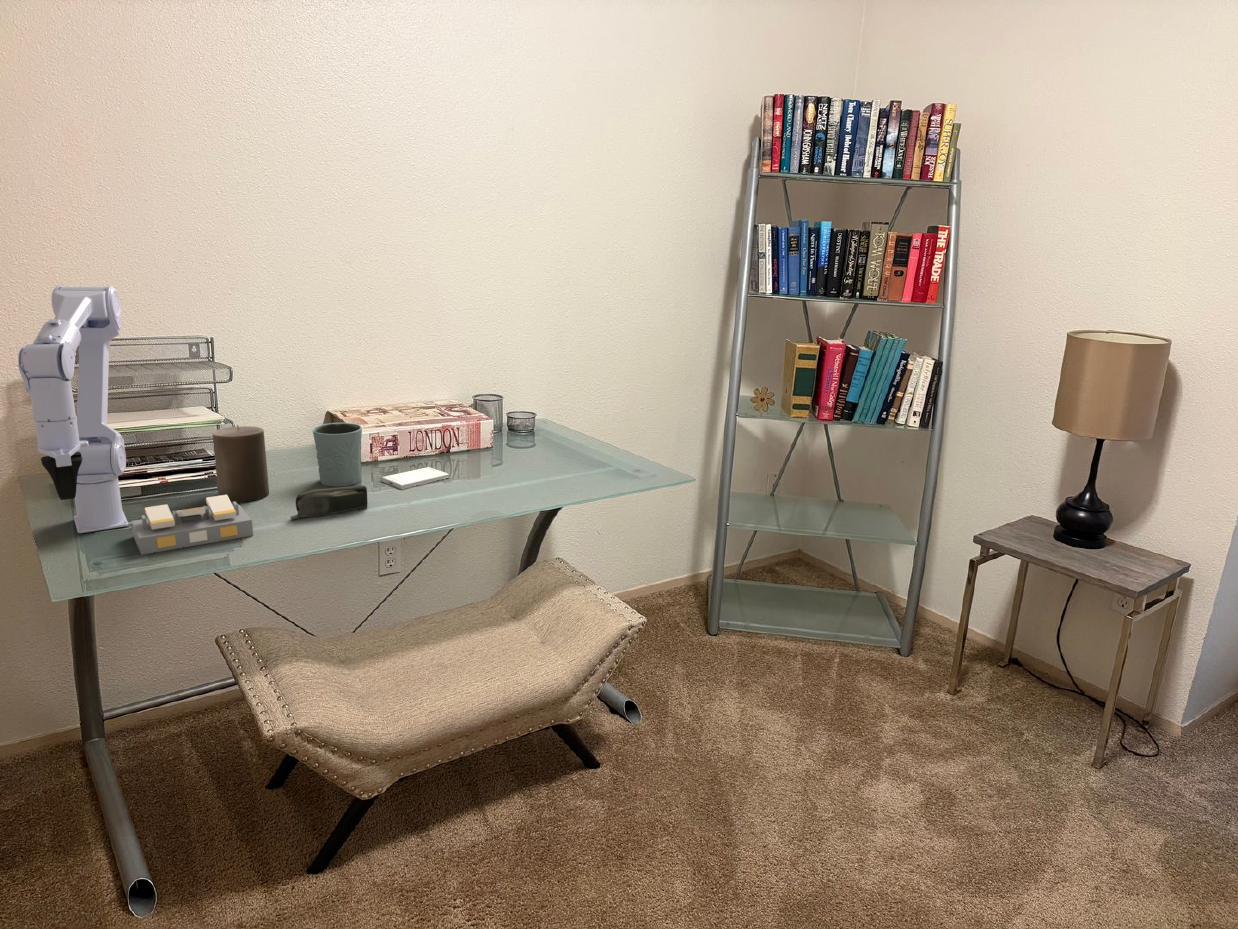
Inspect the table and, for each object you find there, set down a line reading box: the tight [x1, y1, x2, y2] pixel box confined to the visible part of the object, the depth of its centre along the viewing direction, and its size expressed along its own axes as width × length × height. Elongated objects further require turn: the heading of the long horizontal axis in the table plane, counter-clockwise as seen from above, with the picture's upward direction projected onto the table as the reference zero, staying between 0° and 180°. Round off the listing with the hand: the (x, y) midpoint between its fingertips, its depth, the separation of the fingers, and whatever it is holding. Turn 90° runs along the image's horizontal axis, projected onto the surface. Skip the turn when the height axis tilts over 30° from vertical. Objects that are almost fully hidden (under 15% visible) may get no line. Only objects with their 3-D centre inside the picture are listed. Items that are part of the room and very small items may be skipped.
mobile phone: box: [290, 485, 369, 520], centre depth 169 cm, size 5×3×15 cm
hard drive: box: [380, 466, 450, 490], centre depth 192 cm, size 2×8×12 cm
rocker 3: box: [205, 495, 236, 521], centre depth 157 cm, size 7×4×1 cm, turn 36°
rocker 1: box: [144, 503, 175, 530], centre depth 151 cm, size 7×4×1 cm, turn 36°
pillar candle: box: [211, 424, 270, 503], centre depth 176 cm, size 10×10×15 cm
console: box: [131, 501, 254, 555], centre depth 155 cm, size 10×18×5 cm, turn 125°
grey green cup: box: [312, 422, 363, 487], centre depth 188 cm, size 10×10×12 cm
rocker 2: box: [176, 506, 205, 516], centre depth 154 cm, size 7×4×1 cm, turn 34°
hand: (67, 498), depth 144 cm, fingers closed
